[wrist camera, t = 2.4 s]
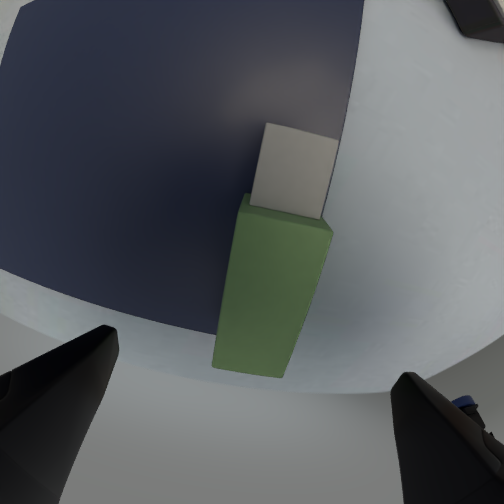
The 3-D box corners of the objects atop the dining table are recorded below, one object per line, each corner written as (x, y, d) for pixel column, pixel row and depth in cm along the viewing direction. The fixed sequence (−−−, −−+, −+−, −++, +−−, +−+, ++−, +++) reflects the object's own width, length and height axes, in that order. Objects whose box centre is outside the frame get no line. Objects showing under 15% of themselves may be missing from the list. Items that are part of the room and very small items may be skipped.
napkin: (281, 343, 15) (281, 346, 15) (-2, 265, 14) (-5, 266, 14) (363, -8, 8) (365, -11, 8) (22, 7, 7) (20, 7, 7)
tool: (279, 332, 15) (282, 379, 11) (220, 321, 15) (211, 368, 11) (331, 142, 11) (357, 142, 8) (258, 125, 11) (256, 117, 8)
